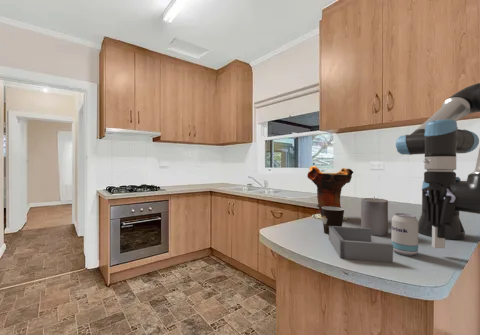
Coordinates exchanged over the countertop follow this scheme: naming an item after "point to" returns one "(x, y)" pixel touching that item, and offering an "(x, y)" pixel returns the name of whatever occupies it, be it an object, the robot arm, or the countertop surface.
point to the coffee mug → (332, 217)
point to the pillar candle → (375, 215)
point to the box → (359, 244)
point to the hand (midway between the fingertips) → (438, 247)
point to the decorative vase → (329, 187)
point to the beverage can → (404, 234)
